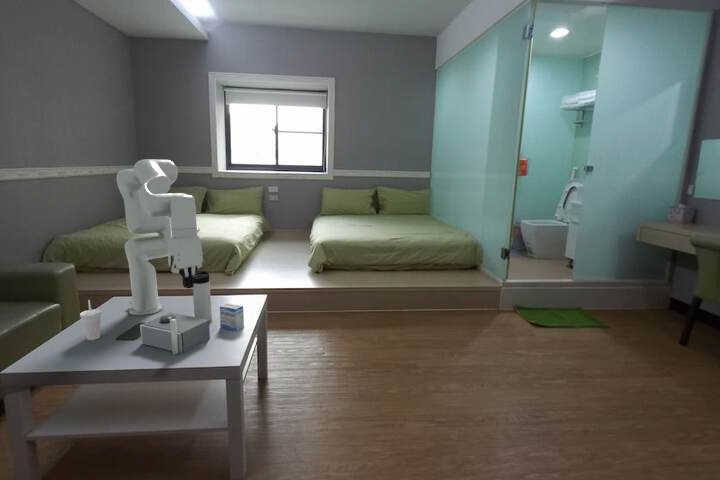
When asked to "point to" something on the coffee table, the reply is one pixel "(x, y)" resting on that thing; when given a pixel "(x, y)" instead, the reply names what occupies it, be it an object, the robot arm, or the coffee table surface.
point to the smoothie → (91, 322)
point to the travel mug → (202, 296)
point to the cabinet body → (184, 328)
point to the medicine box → (231, 317)
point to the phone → (131, 333)
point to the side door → (162, 337)
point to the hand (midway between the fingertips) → (188, 287)
